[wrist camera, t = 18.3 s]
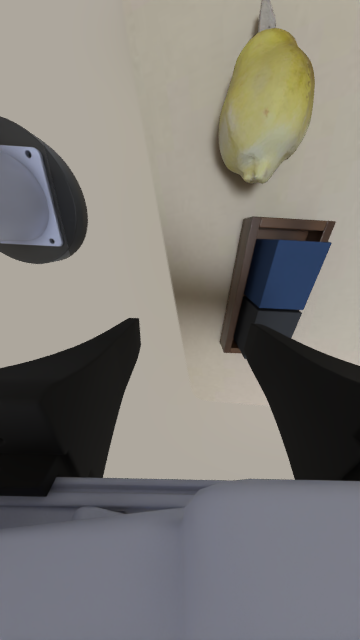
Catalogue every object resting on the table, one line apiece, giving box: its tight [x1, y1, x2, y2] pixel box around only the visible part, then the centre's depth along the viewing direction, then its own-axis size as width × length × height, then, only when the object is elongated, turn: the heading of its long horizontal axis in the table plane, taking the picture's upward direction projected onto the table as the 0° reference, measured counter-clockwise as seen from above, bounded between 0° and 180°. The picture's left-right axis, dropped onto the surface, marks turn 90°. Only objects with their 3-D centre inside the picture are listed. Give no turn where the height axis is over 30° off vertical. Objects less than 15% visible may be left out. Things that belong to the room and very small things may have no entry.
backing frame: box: [220, 217, 336, 353], centre depth 19 cm, size 8×15×2 cm, turn 177°
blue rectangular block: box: [244, 239, 331, 310], centre depth 17 cm, size 4×6×4 cm
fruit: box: [219, 0, 315, 184], centre depth 11 cm, size 6×6×10 cm
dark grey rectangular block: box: [233, 296, 302, 359], centre depth 19 cm, size 4×6×4 cm
